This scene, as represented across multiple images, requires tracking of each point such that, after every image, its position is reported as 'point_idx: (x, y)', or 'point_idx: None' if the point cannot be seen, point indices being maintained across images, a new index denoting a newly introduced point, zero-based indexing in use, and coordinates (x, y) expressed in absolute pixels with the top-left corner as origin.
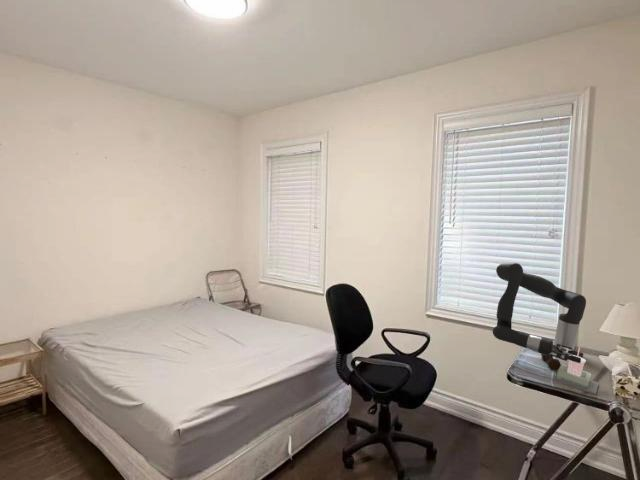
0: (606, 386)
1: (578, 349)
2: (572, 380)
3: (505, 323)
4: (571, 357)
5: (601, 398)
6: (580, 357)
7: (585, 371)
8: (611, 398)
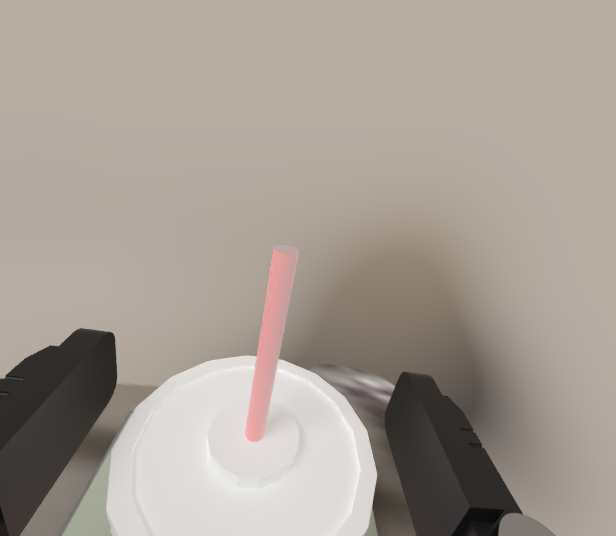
0: (131, 384)
1: (280, 307)
2: None
3: None
4: (509, 505)
5: (364, 420)
6: (165, 399)
7: (107, 457)
8: None
